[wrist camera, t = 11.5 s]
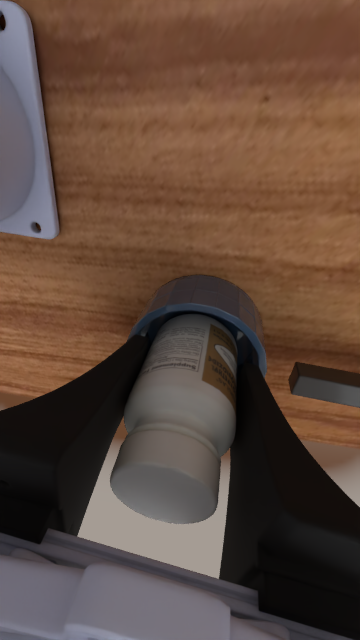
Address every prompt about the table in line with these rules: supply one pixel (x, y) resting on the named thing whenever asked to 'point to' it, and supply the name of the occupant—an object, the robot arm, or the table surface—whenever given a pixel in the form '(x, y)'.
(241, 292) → the dark grey open cylinder
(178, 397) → the pill bottle
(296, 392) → the dark grey rectangular bar
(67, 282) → the table surface
